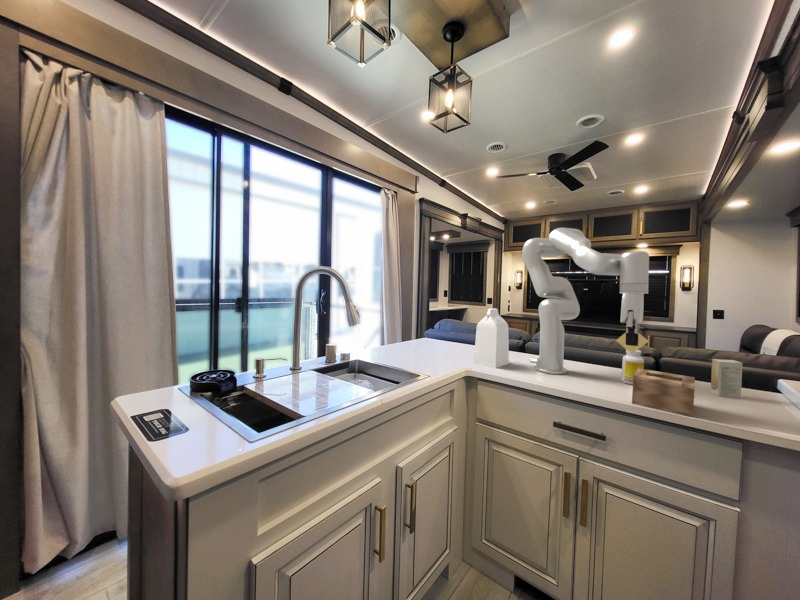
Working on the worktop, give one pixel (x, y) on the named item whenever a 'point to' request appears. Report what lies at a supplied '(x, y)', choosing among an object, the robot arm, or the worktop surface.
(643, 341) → the token
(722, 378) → the skincare box
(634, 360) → the supplement bottle
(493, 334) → the milk
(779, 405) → the worktop surface
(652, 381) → the box
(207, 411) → the worktop surface
